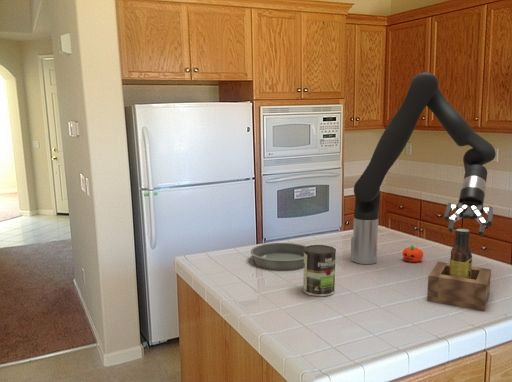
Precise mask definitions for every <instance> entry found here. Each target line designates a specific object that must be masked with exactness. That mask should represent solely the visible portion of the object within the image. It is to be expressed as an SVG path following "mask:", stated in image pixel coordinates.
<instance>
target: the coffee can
mask: <svg viewBox="0 0 512 382" xmlns="http://www.w3.org/2000/svg"><path fill="white" fill-rule="evenodd" d="M305 246H306V247H304V267H303V288H302V291H303V292H304V294H307V295H310V296H313V297H328V296H332V295H334V294H335V292H336V290H335V285H336V283H335V282H336V279H335V278H336V277H335V276H336V252H337V249H336V248H335V247H333V246H332V245H327V244H326V245H324V244H311V245H305Z"/></svg>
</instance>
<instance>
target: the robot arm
mask: <svg viewBox="0 0 512 382" xmlns="http://www.w3.org/2000/svg"><path fill="white" fill-rule="evenodd" d="M426 107H427V109H429V110H430V111H431V113H432V114H433V115H434V117H436V119H437V120H438V122H439V123H440V125H441V126H442V127H443V129H444V130H445V131H446V133H447V134H448V135H449V136H450V138H451V139H452V141H453V142H454V143H455V144H456V145H457V146H458V147H464V146H470V147H471V148H470V149H468V150H467V151H466V152H465V153H464V155H463V156H462V161H463V167H464V176H463V181H462V184H461V188H460V192H459V193H460V194H459V198H458V203H457V204H452V203H451V202H448V203H447V205H446V208H445V211H444V216H443V217H444V222H448V225H447V227H448V231H449V233H451V234H452V233H454V227H455V223H456V222H457V221H460V220H461V219H462V218H463V219H465V220H467V219H469V220H474V219H475V220H476V221H477V222H478V224H479V227H478V237H482V236H483V235H485V230H486V227H492V225H493V220H494V219H493V215H494V208H493V206H488V207H484V202H485V196H486V191H487V190H486V188H487V187H486V186H487V177H488V170H487V168H486V167H485V165H486V164H488V163H490V162H492V161H493V160H494V159H495V158H496V154H497V153H496V150H495V148H494V146H493V144H491V143H490V142H489V141H487V140H486V139H484V137H482V136H481V135H479V134H478V133H477V132H475V130H473V128H472V127H471V125H469V123H468V122H467V121H466V119H464V118H463V116H462V115H461V114H460V113H459V112H458V111H457V110H456V109H455V108H454V107H453V106H452V105H451V104H450V103H449V102H448V100H447V99H446V98H445V96H444V95H443V93H442V92H441V90H440V88H439V81H438V78H437V77H436V75H434V74H433V73H431V72H428V71H427V72H426V71H423V72H420V73H417V74H416V75H415V76H414V77H413V78H412V80H411V81H410V85H409V88H408V91H407V94H406V95H405V98H404V99H403V101H402V104H401V106H400V107H399V109H398V110H397V111H396V113H395V114H394V115H393V116H392V118H391V120H390V121H389V122H388V124H387V126H386V128H385V129H384V131H383V133H382V134H381V136H380V138H379V140H378V142H377V144H376V147H375V149H374V151H373V153H372V156H371V158H370V161H369V163H368V165H367V166H366V168H365V170H364V171H363V172H362V174H361V176H359V178H358V180H357V181H355V183H354V185H353V186H354V187H353V194H354V197H355V200H354V202H355V203H354V210H353V231H352V232H353V234H352V236H351V240H350V261H351V262H354V263H357V264H361V265H372V264H376V263H377V261H378V260H377V259H378V235H379V233H378V232H379V213H380V201H381V199H380V198H381V186H382V185H383V182H384V179H385V177H386V176H387V174H388V172H389V170H390V169H391V168H392V166H393V165H394V164H395V162H396V161H397V160H398V158H399V157H400V156H401V155H402V153H403V150H404V149H405V147H406V146H407V144H408V142H409V140H410V139H411V137H412V134H413V132H414V131H415V130H414V129H415V128H416V126H417V123H418V120H419V119H420V116H421V115H422V112H423V111H424V110H425V108H426ZM454 210H456V211H454ZM452 212H454V213H453V214H452V215H451V213H452ZM483 213H485V214H486V215H487V219H485V218H484V217H483V215H482V214H483Z"/></svg>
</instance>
